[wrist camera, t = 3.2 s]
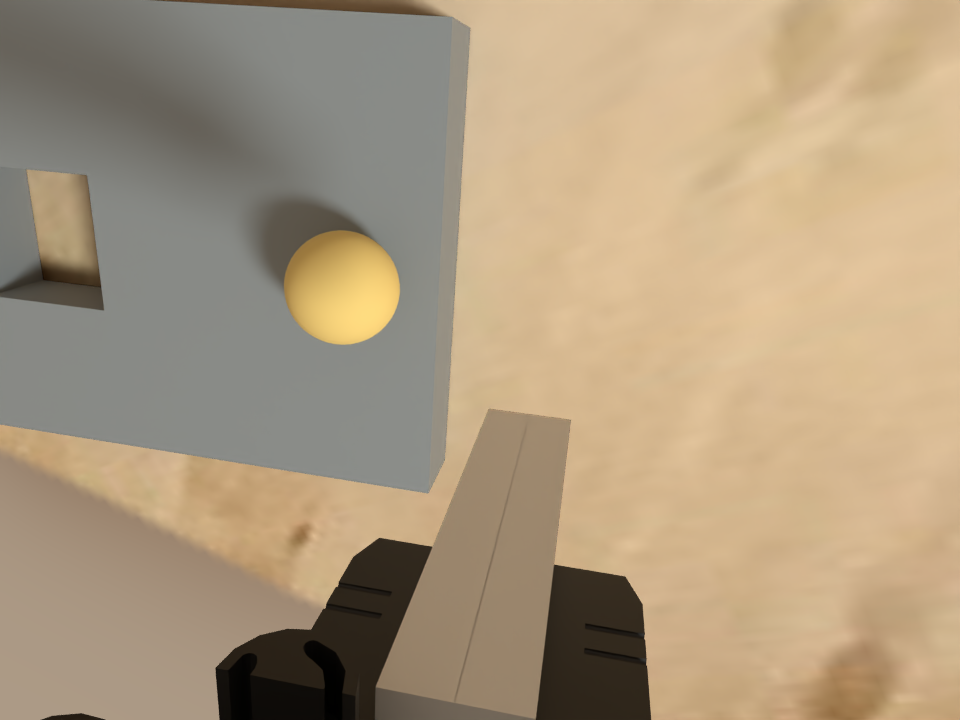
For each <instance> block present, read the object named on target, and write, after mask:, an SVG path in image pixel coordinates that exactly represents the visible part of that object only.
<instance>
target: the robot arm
mask: <svg viewBox="0 0 960 720" xmlns="http://www.w3.org/2000/svg"><path fill="white" fill-rule="evenodd" d="M570 424H571V420H568V419H561V418H553V417H546V416H539V415H532V414H524V413H517V412H510V411H502V410H495V409H489V410H488V412H487V414H486V417H485V419H484V422H483V424H482V427H481V429H480V432H479V434H478V437H477V439H476V442H475V444H474V446H473V449H472V451H471V454H470V456H469V459H468V461H467V464H466V466H465V469H464V471H463V473H462V476H461V478H460V481H459V483H458V486H457V488H456V491H455V493H454V496H453V498H452V500H451V503H450V505H449V508H448V510H447V513H446V515H445V518H444V520H443V523H442V525H441V528H440V530H439V532H438V535H437V537H436V540H435V542H434V545H433V547H430V546H424V545H418V544H412V543H406V542H400V541H395V540H389V539H383V538H379V539H377V540H376V541H375V542H373V543H372V544H370V545H369V546H368V547H366V548H365V549H364V550H362V551H361V552H359V553H358V554H357V555H355V556H354V557H353V558H352V560H351V562H350V564H349V565H348V567H347V569H346V571H345V572H344V574H343V576H342V577H341V579H340V581H339V585H338V587H336V588H335V590H334V591H333V593H332V595H331V596H330V598H329V600H328V602H327V604H326V608H325V609H323V610H322V612H321V614H320V615H319V617H318V619H317V621H316V622H315V624H314V626H313V628H312V629H311V630H302V629H301V630H300V629H285V630H281V631H276V632H272V633H268V634H264V635H260V636H258V637H256V638H254V639H252V640H250V641H248V642H246V643H245V644H243V645H241V646H239V647H237V648H235V649H234V650H233V651H232V652H231V653H230V654H229V655H228V656H227V657H226V658H225V659H224V660H223V661H222V662H221V663H220V664H219V665H218V666H217V667H216V680H217V693H218V704H219V718H220V720H651V712H650V699H649V685H648V672H647V666H646V645H645V640H644V635H645V632H644V619H643V605H642V603H641V601H640V599H639V598H638V596H637V595H636V593H635V591H634V590H633V588H632V587H631V585H630V583H629V582H628V580H627V579H626V577H625V576H619V575H613V574H607V573H601V572H595V571H589V570H583V569H577V568H571V567H565V566H559V565H554V560H555V551H556V543H557V534H558V526H559V517H560V509H561V500H562V492H563V483H564V475H565V466H566V458H567V449H568V441H569V432H570ZM42 720H105V719H101V718H97V717H94V716H89V715H85V714H82V713H80V714H70V715H57V716H51V717H48V718H45V719H42Z"/></svg>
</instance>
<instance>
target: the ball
mask: <svg viewBox="0 0 960 720" xmlns="http://www.w3.org/2000/svg"><path fill="white" fill-rule="evenodd" d="M284 294H285V299H286V303H287V306H288V309H289V311H290V313H291V315H292V316H293V318H294V320H295V321H296V322H297V323H298V325H299V326H300V327H301V328H302V329H303V330H305V331H306V332H307V333H308V334H310V335H312V336H313V337H315V338H317V339H319V340H321V341H324V342H327V343H332V344H340V345H347V344H354V343H359V342H362V341H365V340H367V339H369V338H371V337H373V336H374V335H376V334H377V333H379V332H380V331H381V330H382V329H383V328H384V327H385V326H386V325H387V324H388V322H389V321H390V320H391V318H392V316H393V315H394V313H395V310H396V308H397V305H398V301H399V295H400V283H399V277H398V273H397V269H396V267H395V265H394V262H393V261H392V259H391V257H390V256H389V255H388V253H387V252H386V251H385V250H384V249H383V248H382V247H381V246H380V245H379V244H378V243H377V242H375V241H374V240H372V239H370V238H369V237H367V236H365V235H362V234H360V233H356V232H352V231H343V230H337V231H330V232H326V233H322V234H319V235H317V236H315V237H313V238H311V239H310V240H308V241H307V242H305V243H304V244H303V245H302V246H301V247H300V248H299V249H298V250H297V251H296V252H295V254H294V255H293V257H292V258H291V260H290V262H289V264H288V267H287V270H286V273H285V279H284Z"/></svg>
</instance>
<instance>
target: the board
mask: <svg viewBox="0 0 960 720" xmlns="http://www.w3.org/2000/svg"><path fill="white" fill-rule="evenodd" d="M469 40H470V28H469V27H468V26H466V25H464V24H463V23H461V22H460V21H458V20H456V19H455V18H453V17H443V16H425V15H407V14H389V13H371V12H353V11H335V10H317V9H299V8H281V7H263V6H245V5H227V4H209V3H191V2H173V1H155V0H0V425H7V426H13V427H19V428H25V429H32V430H38V431H44V432H50V433H56V434H63V435H69V436H75V437H81V438H87V439H94V440H100V441H106V442H112V443H118V444H125V445H131V446H137V447H143V448H150V449H156V450H162V451H168V452H174V453H181V454H187V455H193V456H199V457H205V458H212V459H218V460H224V461H230V462H236V463H243V464H249V465H255V466H261V467H267V468H274V469H280V470H286V471H292V472H299V473H305V474H311V475H317V476H323V477H330V478H336V479H342V480H348V481H354V482H361V483H367V484H373V485H379V486H385V487H392V488H398V489H404V490H410V491H417V492H423V493H429V491H430V489H431V487H432V485H433V483H434V481H435V479H436V477H437V475H438V473H439V471H440V469H441V467H442V465H443V463H444V461H445V448H446V431H447V414H448V397H449V380H450V363H451V346H452V329H453V312H454V295H455V278H456V261H457V244H458V227H459V210H460V193H461V176H462V159H463V142H464V125H465V108H466V91H467V74H468V57H469ZM26 169H29V170H39V171H50V172H60V173H70V174H80V175H87V178H88V186H89V194H90V202H91V209H92V217H93V225H94V233H95V241H96V249H97V257H98V264H99V272H100V280H101V287H94V286H86V285H78V284H70V283H62V282H54V281H46V280H43V275H42V269H41V262H40V256H39V250H38V243H37V237H36V231H35V224H34V218H33V212H32V205H31V199H30V192H29V186H28V180H27V173H26ZM337 230H343V231H352V232H356V233H360V234H362V235H365V236H367V237H369V238H370V239H372V240H374V241H375V242H377V243H378V244H379V245H380V246H381V247H382V248H383V249H384V250H385V251H386V252H387V253H388V255H389V256H390V257H391V259H392V261H393V262H394V265H395V267H396V269H397V273H398V277H399V283H400V295H399V301H398V305H397V308H396V310H395V313H394V315H393V316H392V318H391V320H390V321H389V322H388V324H387V325H386V326H385V327H384V328H383V329H382V330H381V331H380V332H379V333H377V334H376V335H374V336H373V337H371V338H369V339H367V340H365V341H362V342H359V343H354V344H347V345H340V344H332V343H327V342H324V341H321V340H319V339H317V338H315V337H313V336H312V335H310V334H308V333H307V332H306V331H305V330H303V329H302V328H301V327H300V326H299V325H298V323H297V322H296V321H295V320H294V318H293V316H292V315H291V313H290V311H289V309H288V306H287V303H286V299H285V294H284V279H285V273H286V270H287V267H288V264H289V262H290V260H291V258H292V257H293V255H294V254H295V252H296V251H297V250H298V249H299V248H300V247H301V246H302V245H303V244H304V243H305V242H307V241H308V240H310V239H311V238H313V237H315V236H317V235H319V234H322V233H326V232H330V231H337Z"/></svg>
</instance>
